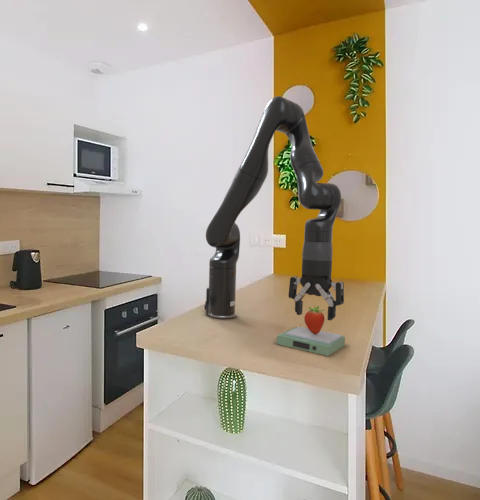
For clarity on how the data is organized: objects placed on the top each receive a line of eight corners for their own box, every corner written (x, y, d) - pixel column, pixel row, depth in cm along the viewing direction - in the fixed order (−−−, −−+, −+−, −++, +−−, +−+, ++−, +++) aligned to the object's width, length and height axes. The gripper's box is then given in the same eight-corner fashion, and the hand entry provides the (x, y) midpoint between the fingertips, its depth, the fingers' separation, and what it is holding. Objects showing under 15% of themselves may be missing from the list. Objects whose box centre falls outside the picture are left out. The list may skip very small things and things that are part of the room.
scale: (276, 344, 115) (276, 333, 114) (295, 335, 124) (296, 324, 123) (327, 356, 105) (328, 344, 105) (344, 345, 114) (345, 334, 114)
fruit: (325, 337, 111) (326, 307, 110) (304, 335, 112) (305, 306, 112) (322, 331, 116) (324, 303, 116) (303, 330, 118) (304, 302, 117)
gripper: (349, 259, 110) (346, 319, 112) (297, 255, 120) (295, 310, 121) (339, 261, 105) (335, 324, 106) (285, 256, 115) (283, 314, 116)
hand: (314, 317), depth 114 cm, fingers open, 8 cm apart
